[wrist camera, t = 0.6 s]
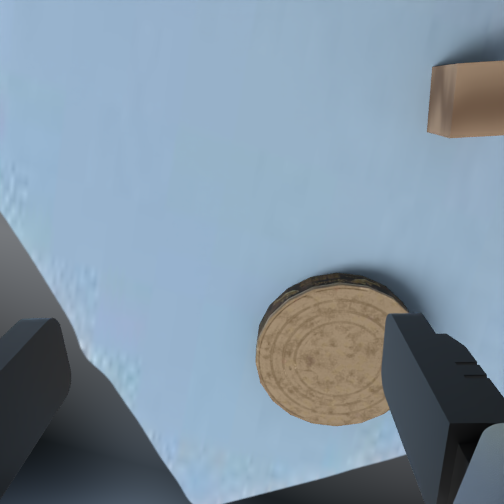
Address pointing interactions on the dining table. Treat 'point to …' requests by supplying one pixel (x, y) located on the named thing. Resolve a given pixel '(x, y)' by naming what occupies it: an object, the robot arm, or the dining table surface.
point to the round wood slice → (327, 348)
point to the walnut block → (467, 100)
